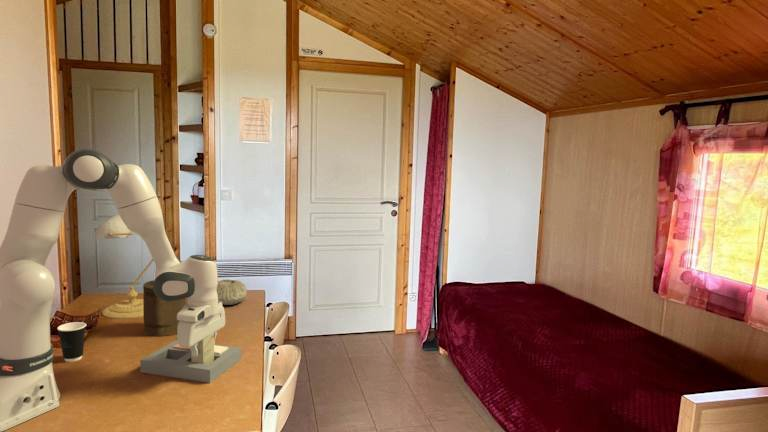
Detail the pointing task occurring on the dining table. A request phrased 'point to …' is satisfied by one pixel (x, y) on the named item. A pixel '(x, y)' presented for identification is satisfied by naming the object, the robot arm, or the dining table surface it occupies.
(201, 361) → the skincare box
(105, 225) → the desk lamp
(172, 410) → the dining table surface
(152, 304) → the brown metal canister
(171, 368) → the socket plate
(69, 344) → the dixie cup
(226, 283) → the decorative shell
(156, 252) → the robot arm
